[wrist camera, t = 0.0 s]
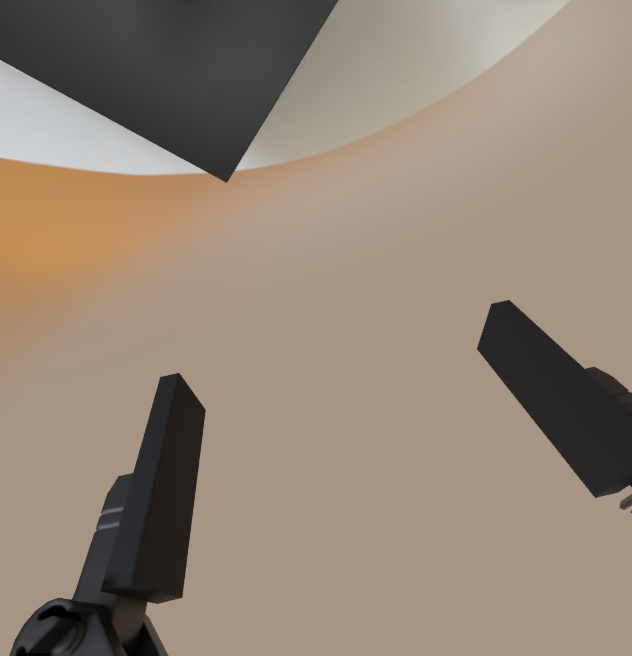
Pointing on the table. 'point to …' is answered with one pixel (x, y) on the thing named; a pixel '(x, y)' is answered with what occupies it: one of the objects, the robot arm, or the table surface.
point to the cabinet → (168, 64)
